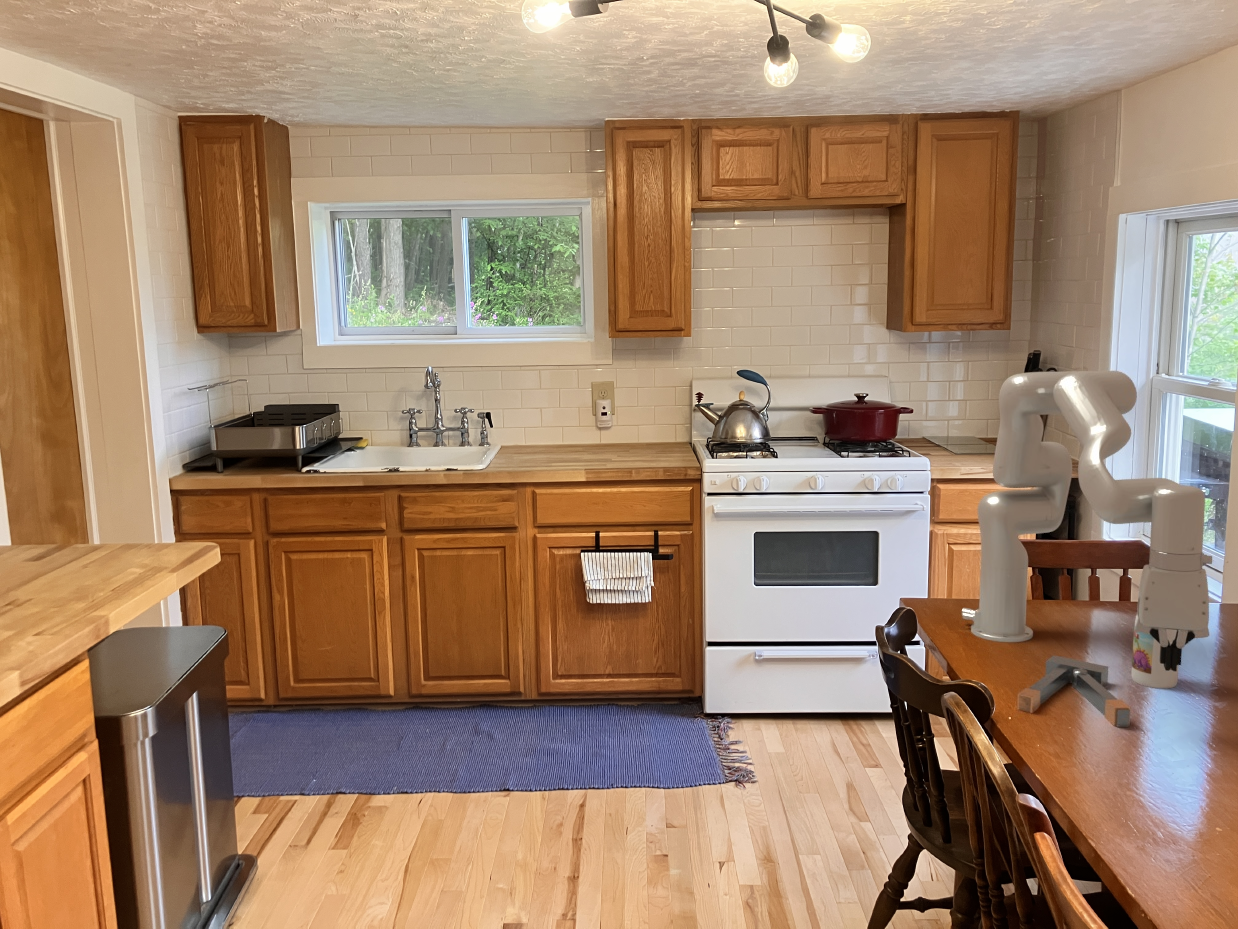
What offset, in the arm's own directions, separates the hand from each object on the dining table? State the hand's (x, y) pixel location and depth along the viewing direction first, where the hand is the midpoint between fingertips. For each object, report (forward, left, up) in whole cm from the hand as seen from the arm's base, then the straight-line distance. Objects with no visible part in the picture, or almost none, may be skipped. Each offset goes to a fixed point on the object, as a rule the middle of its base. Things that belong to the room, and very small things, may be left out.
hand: (1169, 668), depth 167 cm
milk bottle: (-8, +21, -11) cm, 25 cm away
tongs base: (-19, +3, -11) cm, 22 cm away
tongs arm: (-12, +3, -10) cm, 16 cm away
